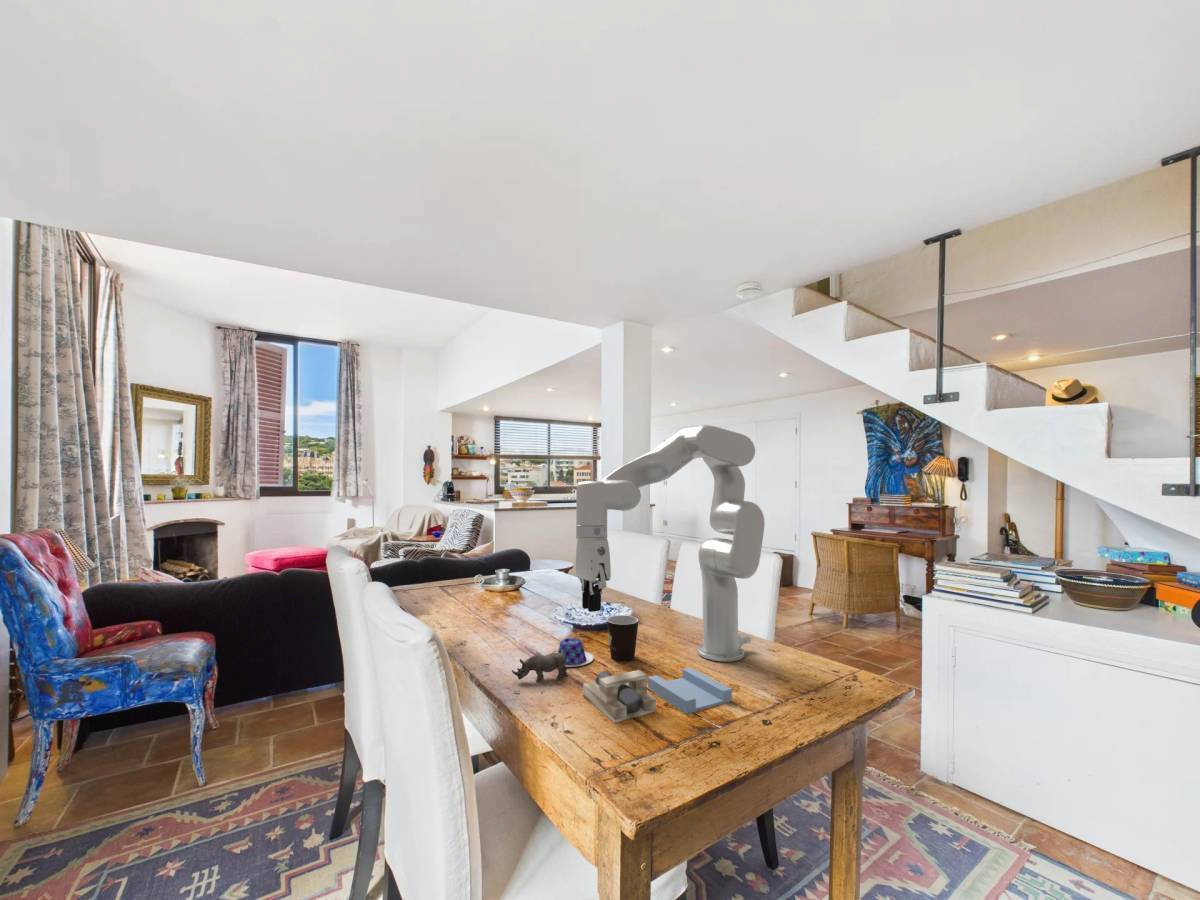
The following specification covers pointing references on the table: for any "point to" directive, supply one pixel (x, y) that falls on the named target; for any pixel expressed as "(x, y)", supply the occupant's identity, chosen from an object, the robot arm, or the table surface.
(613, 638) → the coffee mug
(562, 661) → the rhino figurine
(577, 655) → the pudding
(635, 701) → the axle
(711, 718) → the table surface
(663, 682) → the cradle
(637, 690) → the bracket
